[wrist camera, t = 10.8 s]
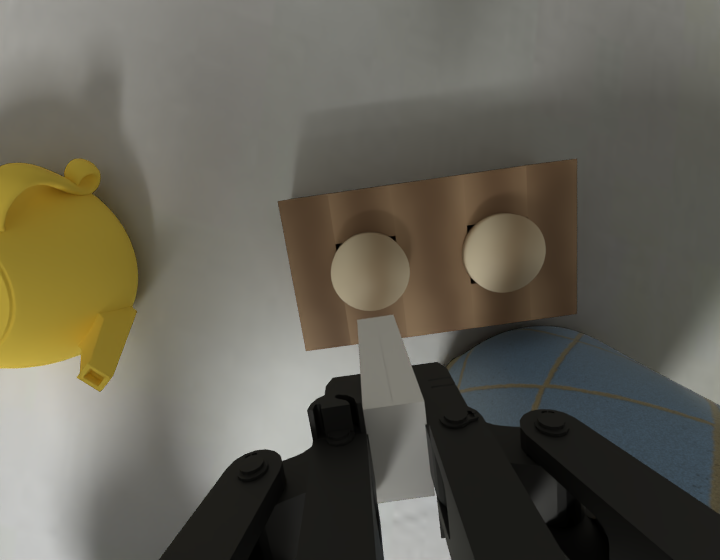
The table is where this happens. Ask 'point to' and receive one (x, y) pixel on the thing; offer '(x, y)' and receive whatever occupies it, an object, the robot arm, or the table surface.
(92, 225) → the teapot
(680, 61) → the table surface
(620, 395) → the planter
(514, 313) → the socket block
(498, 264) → the peg
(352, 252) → the peg
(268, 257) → the table surface
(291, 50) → the table surface
